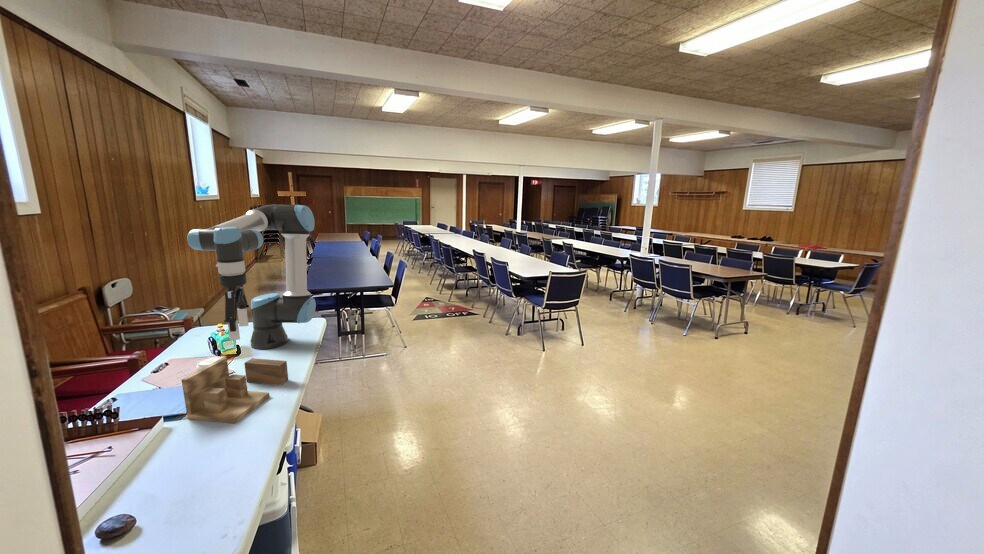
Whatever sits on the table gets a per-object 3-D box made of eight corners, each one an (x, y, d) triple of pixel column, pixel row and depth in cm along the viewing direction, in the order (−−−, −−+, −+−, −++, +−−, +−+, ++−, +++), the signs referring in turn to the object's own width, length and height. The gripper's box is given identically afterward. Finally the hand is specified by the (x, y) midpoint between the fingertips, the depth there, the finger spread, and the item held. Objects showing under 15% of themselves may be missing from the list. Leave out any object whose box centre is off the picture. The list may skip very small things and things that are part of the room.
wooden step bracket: (227, 392, 135) (222, 357, 132) (269, 396, 133) (265, 361, 130) (187, 418, 119) (181, 379, 116) (234, 423, 118) (229, 383, 115)
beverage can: (213, 398, 130) (209, 366, 128) (194, 395, 132) (189, 364, 129) (233, 387, 138) (229, 357, 136) (215, 384, 140) (211, 354, 137)
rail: (254, 377, 146) (252, 358, 144) (288, 380, 145) (286, 360, 143) (246, 382, 142) (244, 362, 140) (281, 385, 141) (279, 365, 139)
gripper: (228, 266, 137) (235, 321, 142) (207, 282, 115) (216, 347, 119) (252, 265, 140) (258, 319, 145) (236, 281, 117) (244, 344, 122)
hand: (239, 332), depth 132 cm, fingers open, 13 cm apart
